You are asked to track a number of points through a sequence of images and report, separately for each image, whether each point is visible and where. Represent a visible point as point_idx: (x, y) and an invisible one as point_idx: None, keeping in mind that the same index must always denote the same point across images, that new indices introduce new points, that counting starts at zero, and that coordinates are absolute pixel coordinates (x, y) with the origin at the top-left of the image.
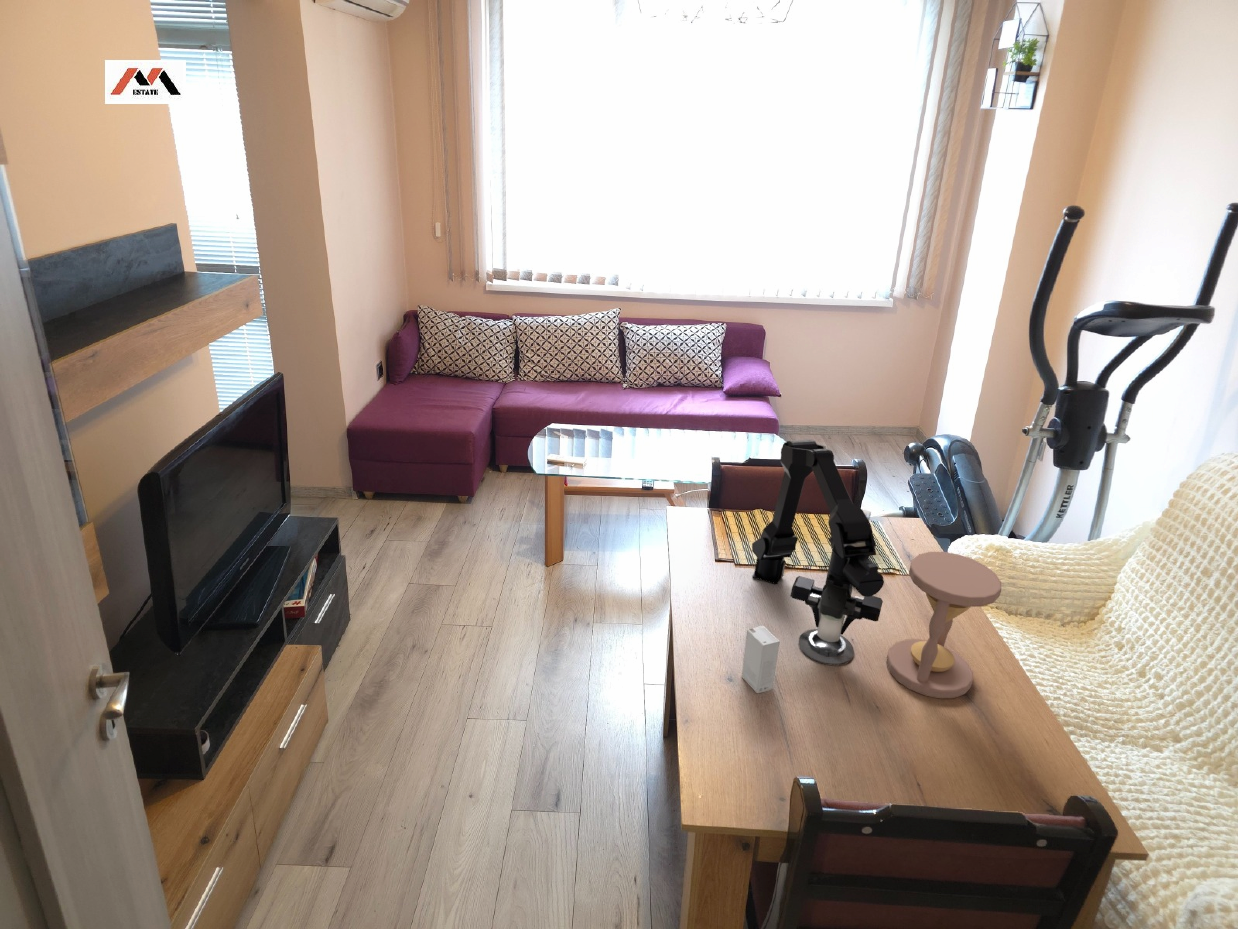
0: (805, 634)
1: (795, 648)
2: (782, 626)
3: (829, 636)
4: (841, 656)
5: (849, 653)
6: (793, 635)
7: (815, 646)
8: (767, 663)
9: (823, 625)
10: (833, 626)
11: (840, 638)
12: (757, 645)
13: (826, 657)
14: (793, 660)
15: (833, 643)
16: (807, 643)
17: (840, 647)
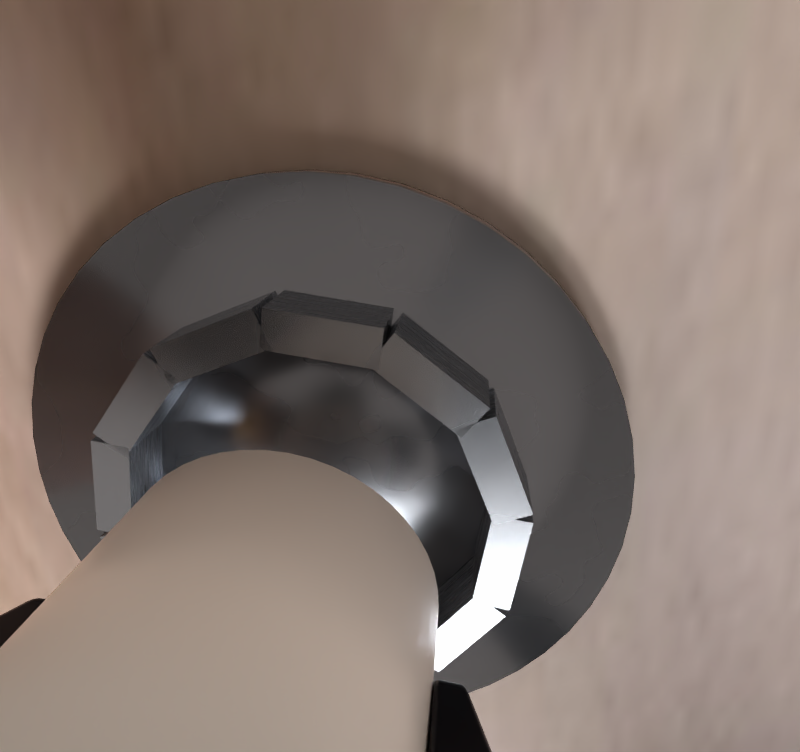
0: (550, 609)
1: (672, 370)
2: (780, 685)
3: (216, 506)
4: (137, 351)
5: (71, 427)
6: (673, 581)
7: (442, 382)
8: None
9: (313, 718)
10: (28, 715)
11: None
12: None
13: (295, 273)
14: (729, 100)
15: None
16: (532, 470)
17: None
